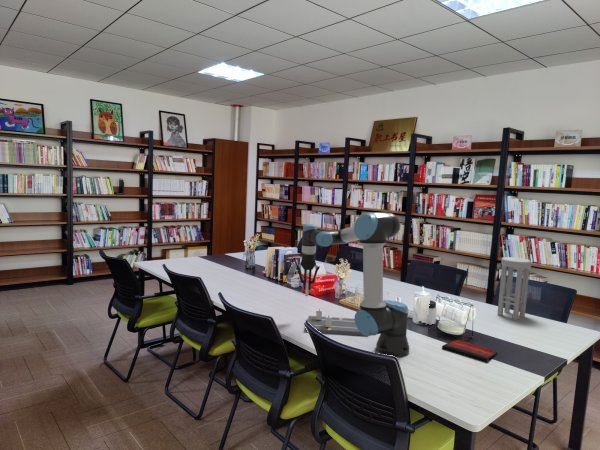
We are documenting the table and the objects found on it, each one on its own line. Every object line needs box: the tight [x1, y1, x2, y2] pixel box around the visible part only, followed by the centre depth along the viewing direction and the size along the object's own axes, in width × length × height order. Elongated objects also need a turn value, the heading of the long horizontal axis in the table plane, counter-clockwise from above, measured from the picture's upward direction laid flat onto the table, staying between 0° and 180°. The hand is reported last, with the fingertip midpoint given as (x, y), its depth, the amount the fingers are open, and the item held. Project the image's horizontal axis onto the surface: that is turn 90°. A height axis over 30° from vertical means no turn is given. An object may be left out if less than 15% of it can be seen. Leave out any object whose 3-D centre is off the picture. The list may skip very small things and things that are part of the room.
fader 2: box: [325, 314, 333, 327], centre depth 219 cm, size 4×3×5 cm
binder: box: [441, 339, 498, 364], centre depth 199 cm, size 16×2×21 cm
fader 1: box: [315, 308, 323, 320], centre depth 229 cm, size 4×3×5 cm
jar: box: [426, 299, 437, 326], centre depth 237 cm, size 9×8×12 cm
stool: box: [497, 256, 532, 321], centre depth 254 cm, size 16×16×35 cm
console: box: [305, 315, 366, 337], centre depth 224 cm, size 21×32×2 cm, turn 85°
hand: (306, 295), depth 229 cm, fingers closed
